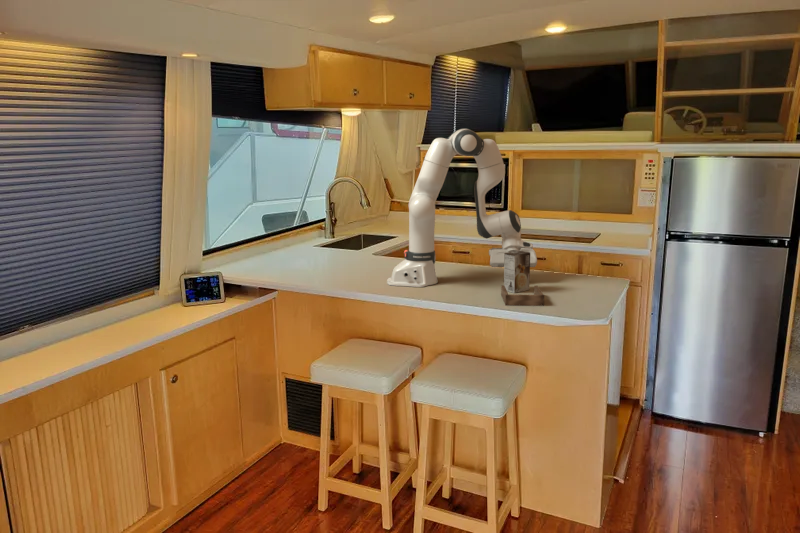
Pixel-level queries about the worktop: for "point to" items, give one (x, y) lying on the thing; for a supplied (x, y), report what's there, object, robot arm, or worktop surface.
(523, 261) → the coffee box
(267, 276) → the worktop surface
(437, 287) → the worktop surface
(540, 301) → the box
